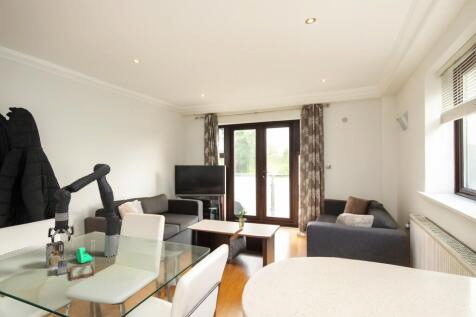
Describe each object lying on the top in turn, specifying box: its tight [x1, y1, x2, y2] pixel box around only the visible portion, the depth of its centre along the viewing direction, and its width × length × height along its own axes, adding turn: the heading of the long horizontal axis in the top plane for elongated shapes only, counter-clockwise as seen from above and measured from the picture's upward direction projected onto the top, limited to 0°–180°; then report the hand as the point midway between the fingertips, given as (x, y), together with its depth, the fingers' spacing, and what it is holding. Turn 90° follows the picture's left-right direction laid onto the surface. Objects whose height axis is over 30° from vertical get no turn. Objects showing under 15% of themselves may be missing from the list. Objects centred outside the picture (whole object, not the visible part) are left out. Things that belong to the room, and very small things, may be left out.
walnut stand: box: [69, 264, 95, 282], centre depth 165 cm, size 13×13×2 cm
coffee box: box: [45, 240, 65, 269], centre depth 173 cm, size 9×6×16 cm
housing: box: [57, 259, 68, 277], centre depth 165 cm, size 5×8×6 cm, turn 37°
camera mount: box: [75, 246, 93, 264], centre depth 183 cm, size 12×8×10 cm, turn 52°
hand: (61, 241), depth 165 cm, fingers open, 8 cm apart
